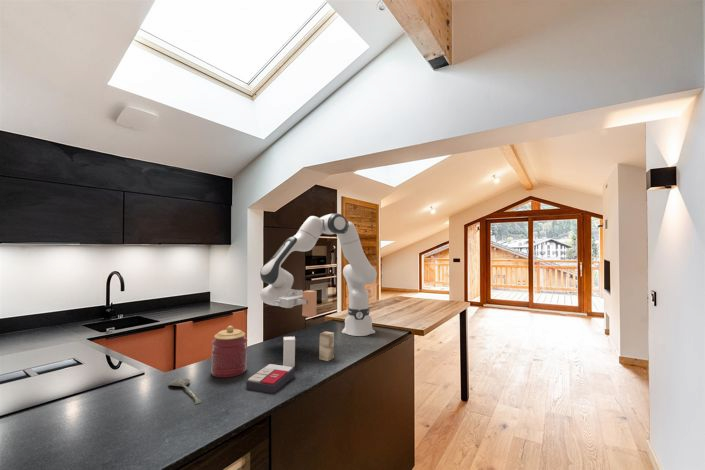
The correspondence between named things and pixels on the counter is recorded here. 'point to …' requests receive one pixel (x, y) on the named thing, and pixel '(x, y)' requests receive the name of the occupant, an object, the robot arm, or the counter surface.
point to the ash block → (326, 346)
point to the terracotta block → (309, 303)
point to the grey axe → (183, 383)
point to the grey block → (289, 351)
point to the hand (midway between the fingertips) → (311, 301)
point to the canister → (229, 353)
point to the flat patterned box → (270, 378)
